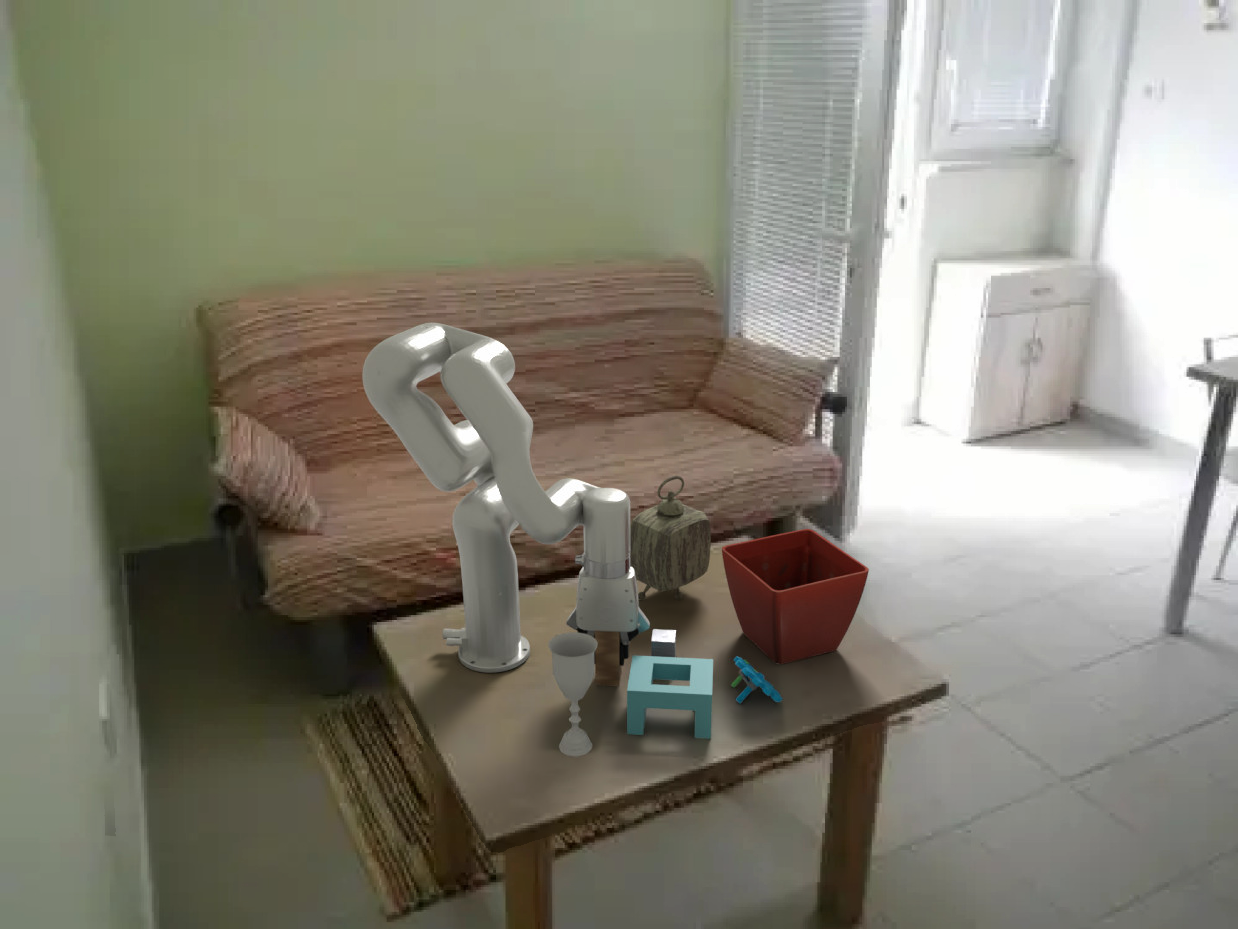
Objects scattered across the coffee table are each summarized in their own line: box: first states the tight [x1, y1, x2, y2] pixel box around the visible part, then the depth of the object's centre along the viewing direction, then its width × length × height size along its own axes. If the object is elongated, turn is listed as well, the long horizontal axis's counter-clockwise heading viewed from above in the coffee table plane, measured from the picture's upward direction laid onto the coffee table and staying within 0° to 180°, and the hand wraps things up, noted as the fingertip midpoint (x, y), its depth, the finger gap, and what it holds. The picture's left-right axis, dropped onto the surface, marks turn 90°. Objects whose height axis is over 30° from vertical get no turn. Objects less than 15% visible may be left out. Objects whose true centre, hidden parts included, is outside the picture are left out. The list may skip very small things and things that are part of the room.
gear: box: [731, 656, 783, 704], centre depth 169 cm, size 11×6×10 cm
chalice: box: [547, 631, 598, 757], centre depth 155 cm, size 7×7×18 cm
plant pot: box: [721, 528, 870, 665], centre depth 183 cm, size 19×19×17 cm
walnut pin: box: [594, 631, 623, 687], centre depth 173 cm, size 4×4×12 cm
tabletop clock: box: [630, 475, 712, 601], centre depth 198 cm, size 14×9×25 cm, turn 133°
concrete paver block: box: [650, 628, 677, 657], centre depth 178 cm, size 4×4×6 cm
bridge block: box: [626, 654, 714, 739], centre depth 163 cm, size 13×10×8 cm
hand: (608, 659), depth 174 cm, fingers closed on walnut pin, 4 cm apart
